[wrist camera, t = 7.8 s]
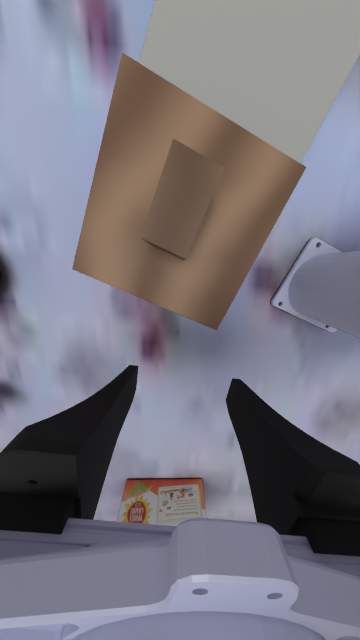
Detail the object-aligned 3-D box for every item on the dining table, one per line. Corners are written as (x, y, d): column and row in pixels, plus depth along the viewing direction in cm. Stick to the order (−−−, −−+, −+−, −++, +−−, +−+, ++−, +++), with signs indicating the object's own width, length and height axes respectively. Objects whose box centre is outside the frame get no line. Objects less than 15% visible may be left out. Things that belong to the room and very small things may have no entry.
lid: (298, 172, 13) (364, 122, 8) (214, 327, 17) (228, 350, 12) (126, 67, 11) (88, -74, 6) (77, 268, 15) (33, 270, 10)
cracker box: (129, 497, 32) (48, 873, 12) (126, 477, 30) (25, 882, 10) (201, 497, 32) (236, 869, 12) (202, 477, 30) (248, 878, 10)
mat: (398, -23, 12) (407, -35, 12) (276, 205, 17) (279, 203, 16) (208, -193, 10) (209, -214, 10) (127, 120, 15) (125, 115, 14)
